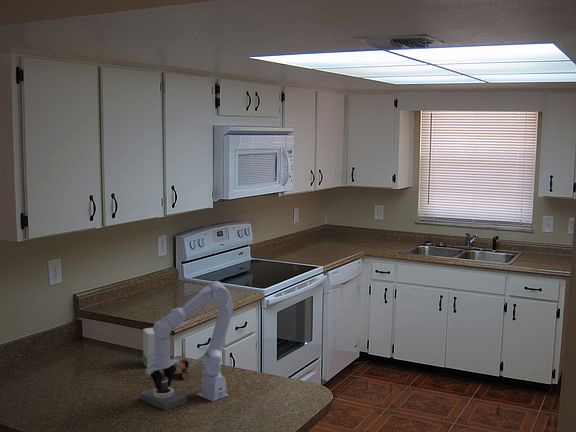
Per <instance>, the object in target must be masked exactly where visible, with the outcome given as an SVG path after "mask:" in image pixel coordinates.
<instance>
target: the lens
mask: <svg viewBox="0 0 576 432" xmlns="http://www.w3.org/2000/svg"><path fill="white" fill-rule="evenodd" d="M157 391H158V393H162V394H163V393H167V392H168V376H167V375H164V374H163V376H162V381H161V390H157Z"/></svg>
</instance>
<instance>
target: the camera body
mask: <svg viewBox="0 0 576 432" xmlns="http://www.w3.org/2000/svg"><path fill="white" fill-rule="evenodd" d="M139 397H140V400H142V401H144V402H146V403H148V404H150V405H152V406H155V407H157V408H159V409H161V410H163V411H168V410H171V409H174V408H177V407H179V405H180V406H182V405H184V404H188V396H186V395H185V394H182V393H181V392H177V391H176V390H174V388H173V387H171V386H169V387H168V392H167V393H163V394H162V393H158V391H157V389H156V387H153V388H151V389H147V390H144V391H141V392H139Z"/></svg>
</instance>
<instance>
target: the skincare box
mask: <svg viewBox="0 0 576 432" xmlns="http://www.w3.org/2000/svg"><path fill="white" fill-rule="evenodd" d="M142 332H143V334H142V337H143V339H142V342H143V343H142V345H143V346H142V347H143V349H142V350H143V352H142V355H143V357H142V358H143V359H142V360H143V361H142V362H143V364H144V366H145V367H146V369H147V368H149V367H151V366H152V365H154V362H155V351H154V341H155V339H154V337H155V333H154V331H153V327H147V328H143V329H142Z"/></svg>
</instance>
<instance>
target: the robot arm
mask: <svg viewBox="0 0 576 432" xmlns="http://www.w3.org/2000/svg"><path fill="white" fill-rule="evenodd" d="M213 300H214V301H213ZM213 302H216V304H217V305H218V306H219V310H218V314H217V318H216V322H215V325H214V327H213V331H212V335H211V338H210V340H209V341H210V342H209V345H208V347H207V348H206V350H205V352H204V354H203V355H202V356H201V359H200V364H201V365H202V367H203V368H202V371H201V392H198V393H197V396H198V397H201V398H204V399H207V400H208V401H211V402H215V401H218V400H220V399H223V398H225V397H226V398H227V397H228V396H229V394H228V393H227V379H226V378H225V377H224V376H223V375H222V373H221V369H222V365H221V362H222V350H223V346H224V343H225V340H226V337H227V332H228V329H229V326H230V322H231V320H232V316H233V312H234V309H235V306H234V302H233V299H232V294H231V292H230V291H229V289H228V288H227V287H226V286H225V285H224V284H223V283H222V282H221V281H217V280H215V281H211V282H210V283H209V284H208V285H206V286H204V287H203V288H202V289H201V290H200V291H199V292H198V293H197V294H196V295H194V296H193V297H192V298H191V299H190V300H189V301H188V302H187V303H186V304H184V305H183V306H182V307H176V308H175V309H174V308H172V309H171V310H170V312H169V313H168V314H167V315H165V316H164V317H161V318H160V320H157V321H156V322H155V323H154V324H153V327H152V328H153V331H154V333H155V337H154V339H155V341H154V351H155V362H154V365H152V366H151V367H149V368H147V367H146V368H145V374H146V375H149V376H150V377H151V378H152V381H153V383H154V386H155V388H156V389H157V390H161V381H162V376H163V375H167V376H168V387H171V384H172V381H173V377H174V374H175V373H176V372H177V371H176V369H177V367H174V365H179V362H180V360H179V359H178V358H173V359H171V342H170V336H171V332H172V331H174V330H175V329H176V328H178V327H179V326H180V325H181V324H182V323H184V322H185V321H186V320H187V317H188V314H190V313H191V312H193V311H194V310H195V309H197V308H198V307H200V306H201V305H202V304H204V303H213ZM162 370H163V373H162V372H161V371H162Z"/></svg>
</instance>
